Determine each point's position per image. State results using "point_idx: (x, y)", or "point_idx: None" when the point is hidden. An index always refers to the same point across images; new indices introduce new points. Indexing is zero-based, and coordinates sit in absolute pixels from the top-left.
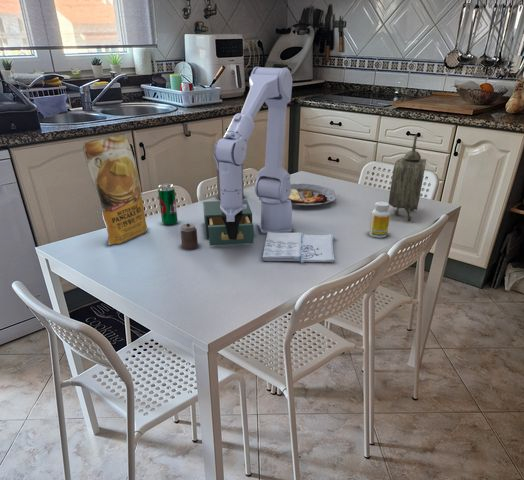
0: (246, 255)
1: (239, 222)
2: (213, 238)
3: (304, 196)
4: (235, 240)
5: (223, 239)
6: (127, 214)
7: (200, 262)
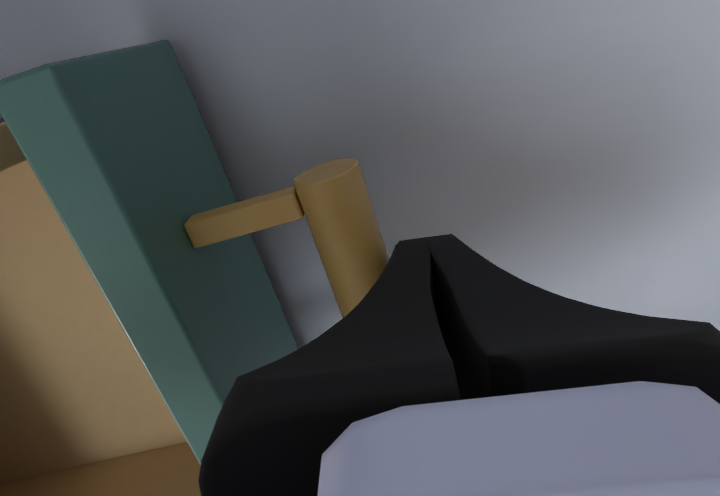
0: (446, 72)
1: (622, 317)
2: None
3: None
4: (240, 244)
5: None
6: None
7: None
